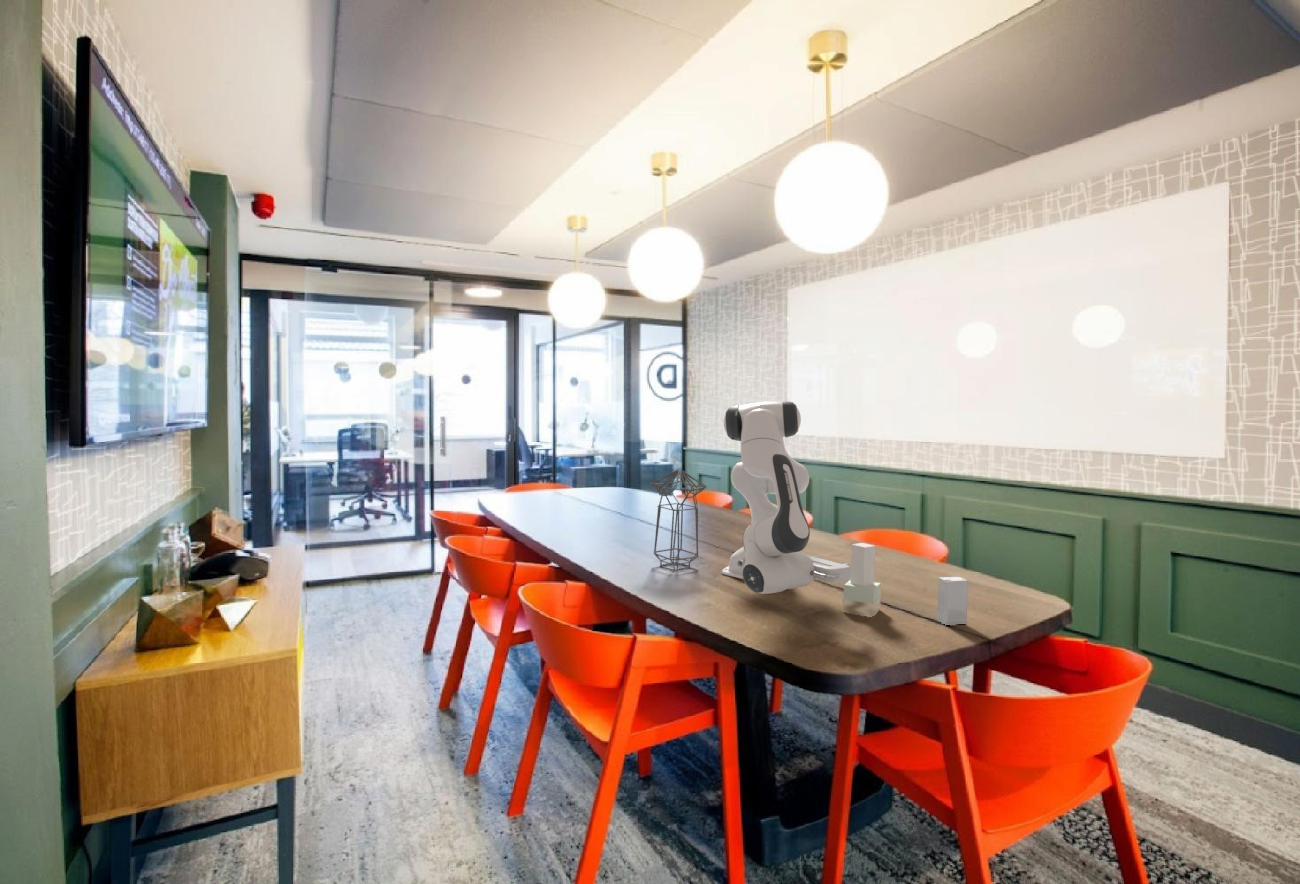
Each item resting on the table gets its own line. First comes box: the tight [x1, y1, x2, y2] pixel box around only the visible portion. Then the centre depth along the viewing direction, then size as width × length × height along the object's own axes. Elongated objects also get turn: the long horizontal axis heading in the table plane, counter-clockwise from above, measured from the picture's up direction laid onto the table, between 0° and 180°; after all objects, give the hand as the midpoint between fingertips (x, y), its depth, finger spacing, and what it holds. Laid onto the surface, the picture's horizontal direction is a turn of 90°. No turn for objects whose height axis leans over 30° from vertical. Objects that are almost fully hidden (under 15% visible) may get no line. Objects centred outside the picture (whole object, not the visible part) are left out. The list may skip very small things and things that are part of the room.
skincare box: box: [936, 576, 969, 626], centre depth 165 cm, size 6×4×12 cm
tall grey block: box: [849, 542, 876, 587], centre depth 174 cm, size 4×4×11 cm
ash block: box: [841, 596, 882, 618], centre depth 175 cm, size 8×8×4 cm
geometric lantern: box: [649, 469, 708, 572], centre depth 221 cm, size 16×16×35 cm
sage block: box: [843, 580, 882, 604], centre depth 175 cm, size 8×8×4 cm
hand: (832, 562), depth 168 cm, fingers open, 8 cm apart
